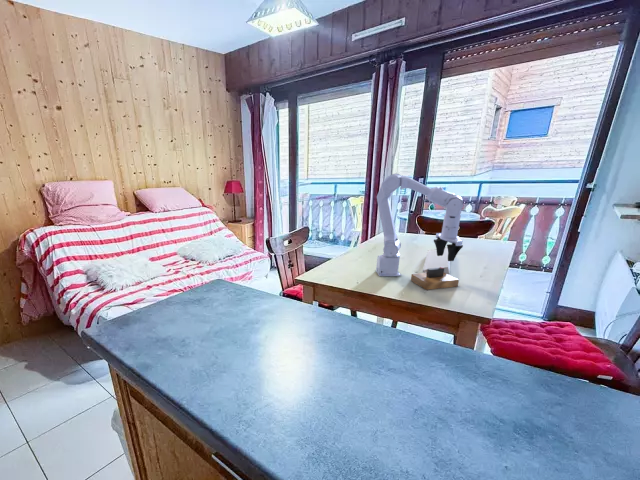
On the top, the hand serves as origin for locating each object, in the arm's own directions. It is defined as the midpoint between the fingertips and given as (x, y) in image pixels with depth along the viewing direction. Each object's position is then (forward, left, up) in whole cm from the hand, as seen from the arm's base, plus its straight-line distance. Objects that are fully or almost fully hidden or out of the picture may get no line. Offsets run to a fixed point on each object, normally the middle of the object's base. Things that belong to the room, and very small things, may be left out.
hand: (445, 258), depth 138 cm
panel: (-5, -5, -10) cm, 12 cm away
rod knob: (-5, -5, -7) cm, 9 cm away
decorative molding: (+5, +20, -10) cm, 23 cm away
